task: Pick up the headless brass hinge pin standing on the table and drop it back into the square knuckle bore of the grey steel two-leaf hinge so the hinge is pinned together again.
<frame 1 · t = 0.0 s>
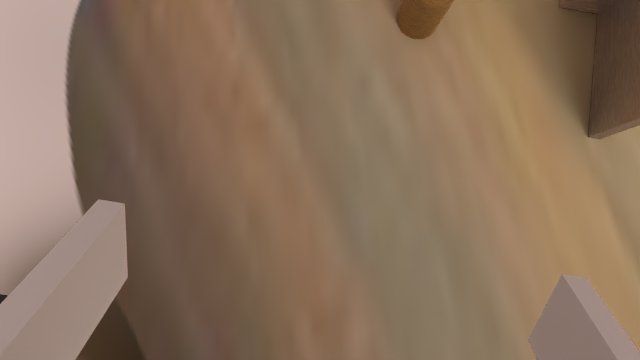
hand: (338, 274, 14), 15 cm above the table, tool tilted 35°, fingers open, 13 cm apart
pin: (417, 19, 32), on the table
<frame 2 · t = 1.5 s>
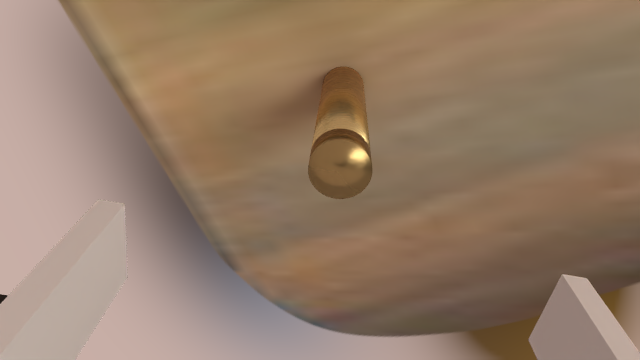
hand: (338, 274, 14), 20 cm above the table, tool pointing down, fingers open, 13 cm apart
pin: (343, 87, 32), on the table
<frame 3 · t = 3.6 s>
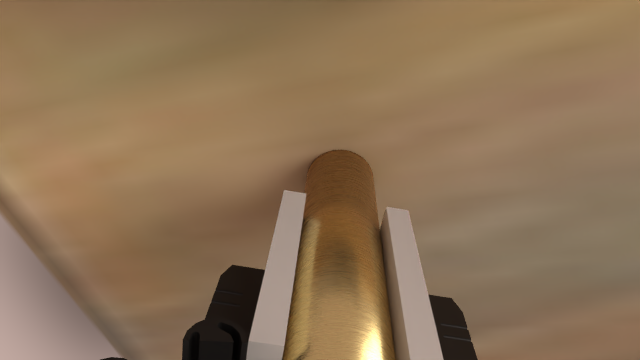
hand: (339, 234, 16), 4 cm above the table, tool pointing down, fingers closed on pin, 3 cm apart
pin: (340, 180, 20), on the table, touching gripper
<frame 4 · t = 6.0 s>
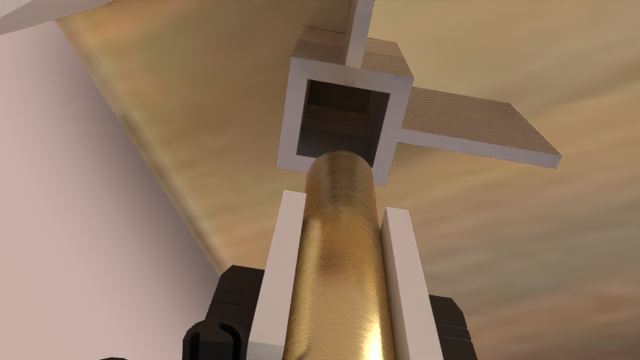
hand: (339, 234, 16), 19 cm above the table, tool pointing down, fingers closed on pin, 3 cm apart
pin: (340, 180, 20), point 15 cm above the table, touching gripper
hinge: (342, 80, 33), on the table
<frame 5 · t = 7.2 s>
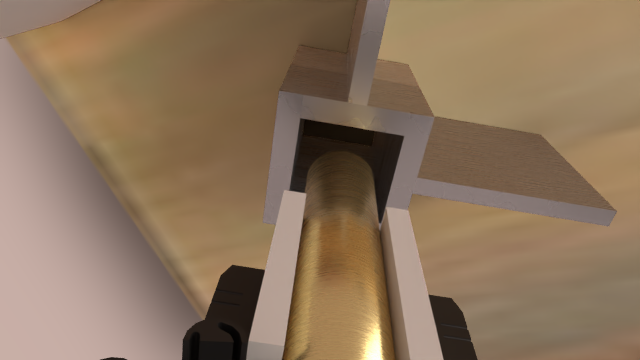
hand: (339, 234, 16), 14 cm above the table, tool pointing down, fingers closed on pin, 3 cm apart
pin: (340, 180, 20), point 10 cm above the table, touching gripper
hinge: (343, 107, 28), on the table
when the fingers open (10 cm above the table, at t = 8.3 s): pin drops 6 cm, resting in hinge.
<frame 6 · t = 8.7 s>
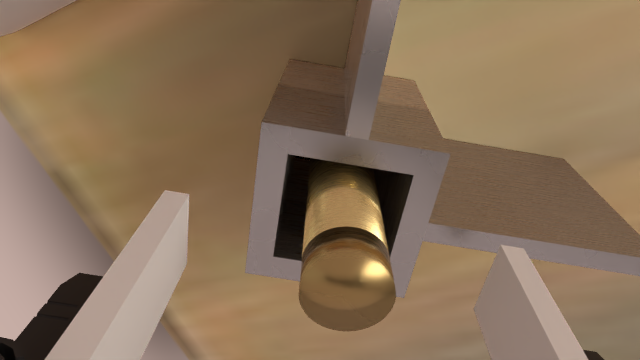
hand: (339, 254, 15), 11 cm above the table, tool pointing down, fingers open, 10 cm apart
pin: (339, 128, 25), resting in hinge
hinge: (340, 128, 25), on the table
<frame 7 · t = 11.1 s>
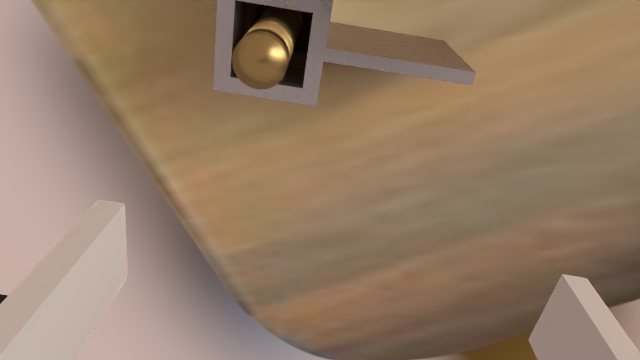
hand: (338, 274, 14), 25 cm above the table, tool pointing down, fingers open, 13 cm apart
pin: (283, 20, 35), resting in hinge
hinge: (284, 20, 35), on the table
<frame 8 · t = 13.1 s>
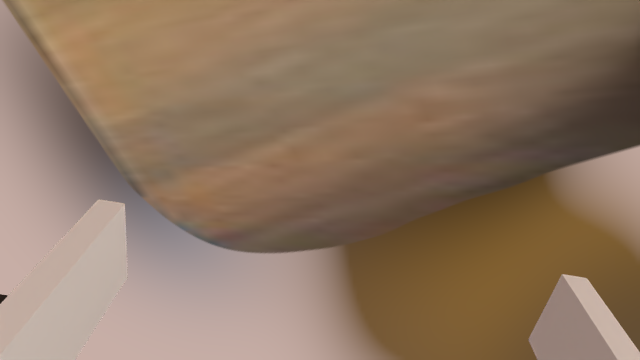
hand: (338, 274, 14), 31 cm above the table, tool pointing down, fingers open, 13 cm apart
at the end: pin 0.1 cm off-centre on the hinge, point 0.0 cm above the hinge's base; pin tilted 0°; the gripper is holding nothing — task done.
